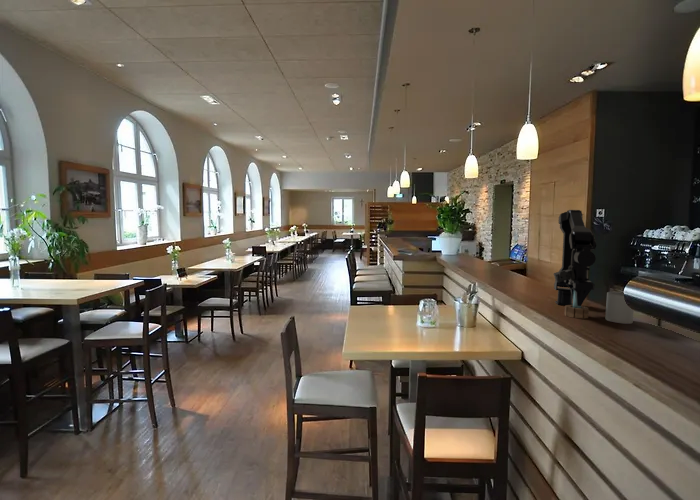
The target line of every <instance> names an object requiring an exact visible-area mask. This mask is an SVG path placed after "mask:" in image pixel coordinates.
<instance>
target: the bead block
mask: <svg viewBox="0 0 700 500" xmlns="http://www.w3.org/2000/svg"><path fill="white" fill-rule="evenodd" d="M589 308H590V307H587V306H583V305H581V308H573V305H564V316H565V317H570V318H575V319H589V312H590V311H589V310H590V309H589Z"/></svg>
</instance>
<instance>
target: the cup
mask: <svg viewBox="0 0 700 500" xmlns="http://www.w3.org/2000/svg"><path fill="white" fill-rule="evenodd" d="M624 293H625V292H621V291H608V292H606V302H605V303H606V304H605V305H606V306H605V317H604V318H605V320H606V321H608V322H611V323H612V322H613V323H616V324H617V323H618V324H633V322H634V312H635V311H634V310H635V309H634V310H632V309H631V308H629V307H628V306H627V304H626V302H625V300H624Z"/></svg>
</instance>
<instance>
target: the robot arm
mask: <svg viewBox="0 0 700 500" xmlns="http://www.w3.org/2000/svg"><path fill="white" fill-rule="evenodd" d="M583 215H584V214H583V213H582V210H580V209H569V210H567V211H565V212H561V213H560V214H559V217H558V224H559V229H560V230H561V233H562V234H563V237H562V239H563V241H562V242H563V243H562V256H561V258H562V259H561V260H562V262H561V268H560V269H559V270H558V271H557V272H556V271H555V272H554V273H553V276H554V283H553V286H554V287H553V289H554V290H555V291H557V300H555V301H554V302H555V303H556V305H560V306H565V305H573V296H574V291H575V292H576V299H577V306H583V305H582V304H583V303H584V302H585V300H586V298H587V297H588V295H589V294H590V292H591V291H594V290H595V283H594V282H593V281H591V280H590V278H588V277H589V276H588V275H589V271H590V269H591V268H590V267H591V266H592V265H594V263H595V262H596V259H597V258H596V255H595V253H594V252H592V251H591V250H596V247H597V241H596V238H595V236H594V233H593V232H592V230H591V229H590V228H588V227H586V225H585V223H584V220H583V217H584V216H583Z"/></svg>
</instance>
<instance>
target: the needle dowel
mask: <svg viewBox="0 0 700 500" xmlns="http://www.w3.org/2000/svg"><path fill="white" fill-rule="evenodd" d="M572 303H573V308H581V306H582V305H581V306H577V299H576V292H575V291H574V296H573V299H572Z"/></svg>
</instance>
